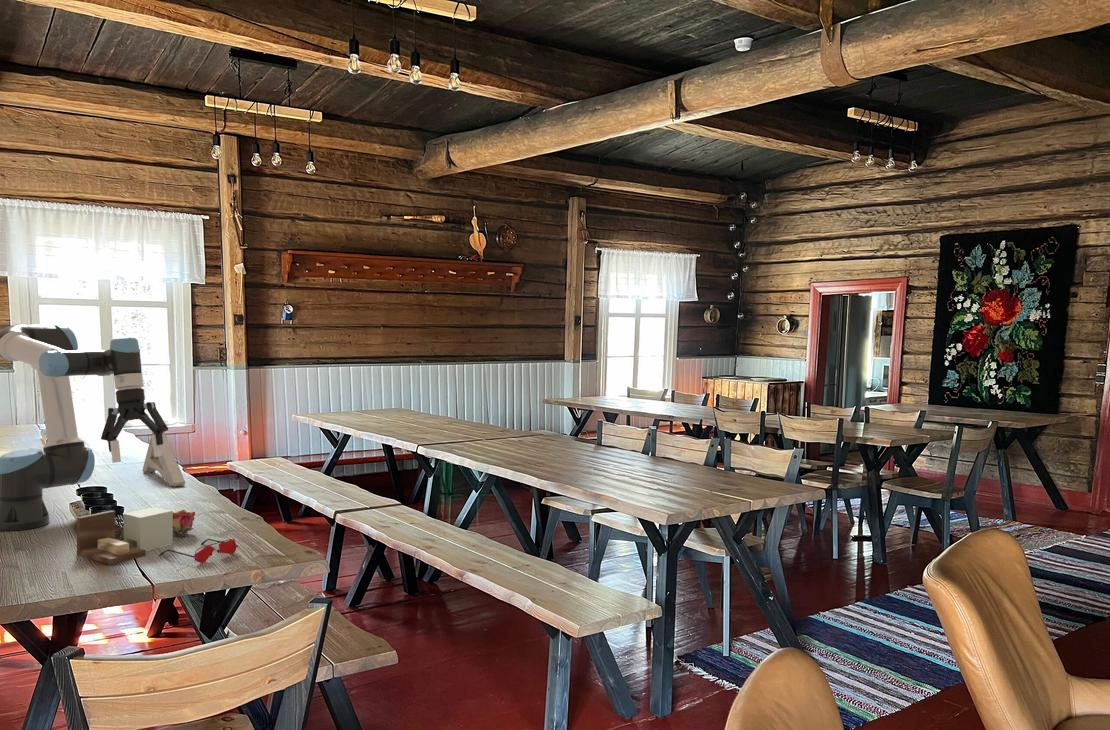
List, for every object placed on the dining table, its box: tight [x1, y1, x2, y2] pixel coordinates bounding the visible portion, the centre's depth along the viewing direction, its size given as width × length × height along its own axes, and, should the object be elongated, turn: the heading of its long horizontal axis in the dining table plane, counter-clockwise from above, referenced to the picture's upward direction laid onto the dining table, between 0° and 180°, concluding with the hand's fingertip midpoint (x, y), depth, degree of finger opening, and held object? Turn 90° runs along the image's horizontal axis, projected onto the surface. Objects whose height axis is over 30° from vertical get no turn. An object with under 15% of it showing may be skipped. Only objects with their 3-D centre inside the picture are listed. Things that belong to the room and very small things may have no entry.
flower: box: [173, 509, 199, 538], centre depth 239 cm, size 10×9×8 cm
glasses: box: [158, 538, 239, 564], centre depth 221 cm, size 14×16×5 cm
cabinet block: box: [123, 506, 174, 552], centre depth 228 cm, size 11×8×10 cm
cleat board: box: [76, 510, 147, 565], centre depth 218 cm, size 16×10×10 cm, turn 60°
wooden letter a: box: [142, 431, 186, 487], centre depth 318 cm, size 22×4×30 cm
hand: (137, 459), depth 232 cm, fingers open, 13 cm apart
